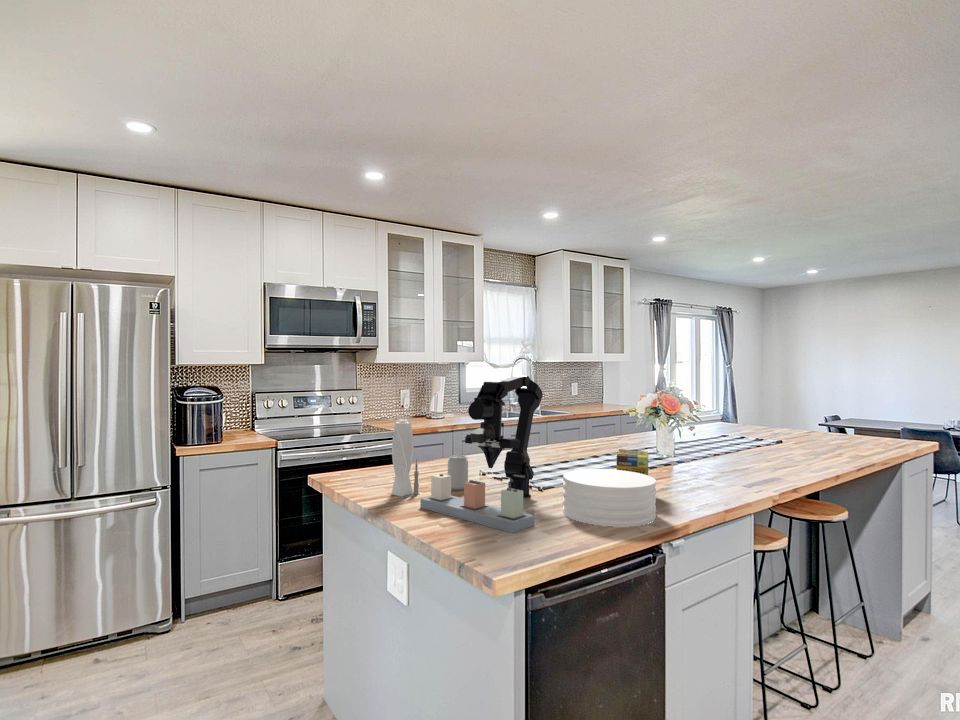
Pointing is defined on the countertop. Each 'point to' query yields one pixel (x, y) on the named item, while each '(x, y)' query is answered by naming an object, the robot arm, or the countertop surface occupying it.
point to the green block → (511, 503)
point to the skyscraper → (403, 459)
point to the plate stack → (609, 497)
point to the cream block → (441, 486)
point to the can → (458, 471)
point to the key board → (478, 514)
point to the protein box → (632, 461)
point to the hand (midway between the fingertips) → (490, 468)
